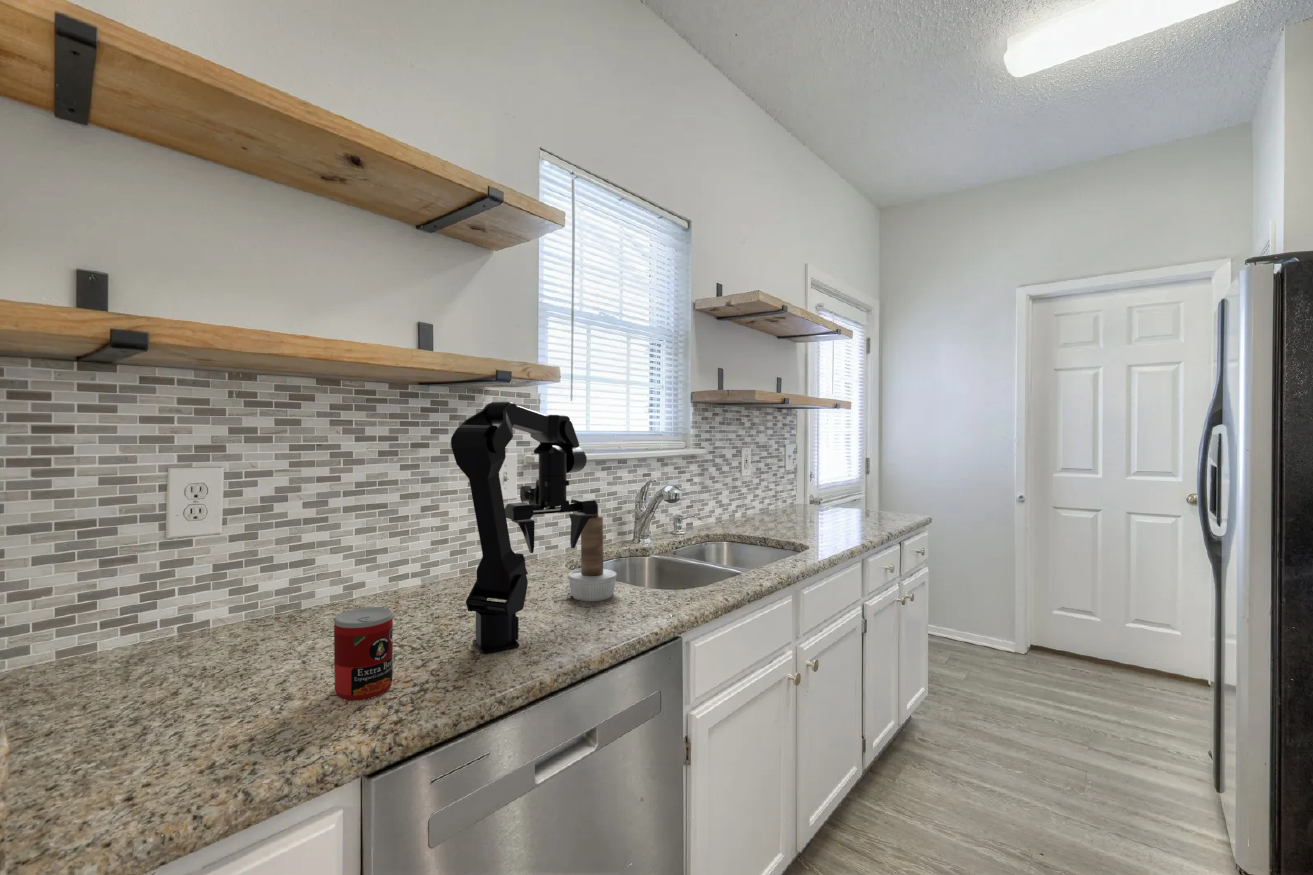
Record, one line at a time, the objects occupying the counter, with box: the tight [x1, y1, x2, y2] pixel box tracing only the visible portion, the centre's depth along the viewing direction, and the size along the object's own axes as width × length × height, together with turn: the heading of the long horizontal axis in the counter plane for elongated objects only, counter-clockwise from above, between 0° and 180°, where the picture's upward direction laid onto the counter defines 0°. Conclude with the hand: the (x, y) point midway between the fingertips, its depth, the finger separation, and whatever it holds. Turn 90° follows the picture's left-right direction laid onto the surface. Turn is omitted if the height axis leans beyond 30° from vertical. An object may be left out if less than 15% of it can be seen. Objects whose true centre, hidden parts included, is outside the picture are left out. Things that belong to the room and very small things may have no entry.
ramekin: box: [567, 568, 618, 602], centre depth 138 cm, size 11×11×5 cm
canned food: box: [333, 606, 394, 701], centre depth 88 cm, size 8×8×11 cm
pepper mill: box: [580, 513, 604, 576], centre depth 137 cm, size 5×5×15 cm
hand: (552, 550), depth 124 cm, fingers open, 9 cm apart
